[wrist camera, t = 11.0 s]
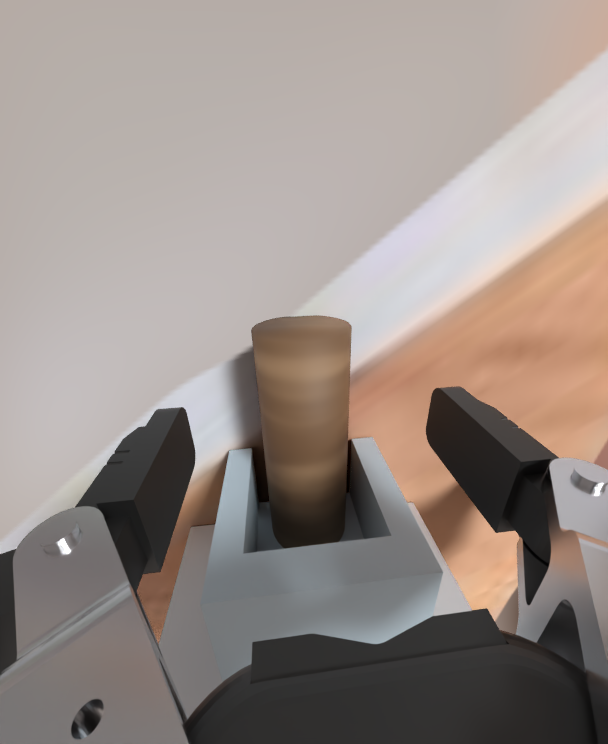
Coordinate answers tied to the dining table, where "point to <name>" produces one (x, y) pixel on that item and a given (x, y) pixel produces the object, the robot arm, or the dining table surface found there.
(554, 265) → the dining table surface
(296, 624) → the sleeve block
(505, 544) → the dining table surface
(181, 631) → the base plate
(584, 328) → the dining table surface
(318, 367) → the dowel
